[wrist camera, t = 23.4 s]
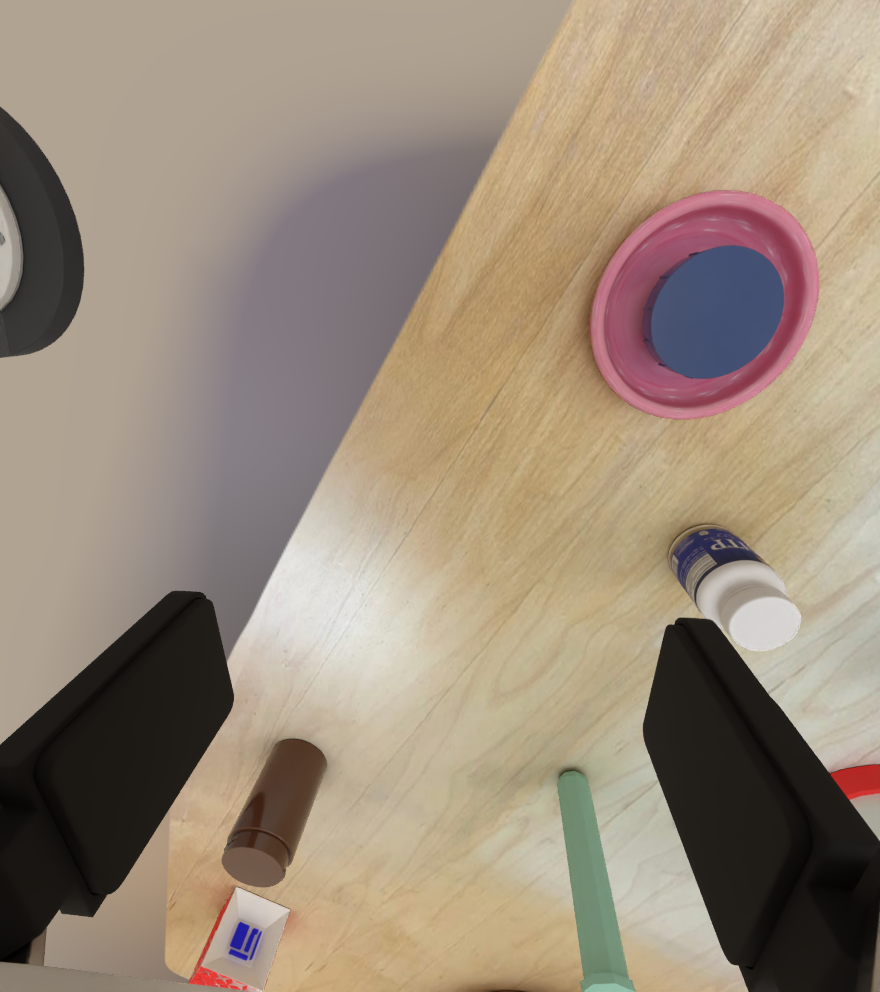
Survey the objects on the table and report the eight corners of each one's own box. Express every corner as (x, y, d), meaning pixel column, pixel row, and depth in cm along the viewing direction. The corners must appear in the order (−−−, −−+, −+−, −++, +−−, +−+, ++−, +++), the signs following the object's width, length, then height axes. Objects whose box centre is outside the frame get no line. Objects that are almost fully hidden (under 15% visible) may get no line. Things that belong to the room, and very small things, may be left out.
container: (555, 760, 45) (586, 978, 30) (594, 766, 45) (644, 988, 30) (550, 786, 46) (577, 1006, 32) (587, 791, 46) (632, 1016, 31)
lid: (772, 238, 25) (792, 233, 23) (760, 366, 27) (777, 369, 25) (641, 261, 26) (651, 258, 24) (641, 382, 28) (650, 386, 26)
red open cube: (219, 913, 63) (183, 992, 55) (236, 886, 60) (200, 966, 52) (271, 935, 63) (243, 1016, 56) (291, 909, 60) (263, 991, 53)
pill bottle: (752, 534, 34) (835, 604, 26) (716, 590, 36) (782, 670, 28) (686, 513, 34) (747, 576, 26) (654, 570, 36) (701, 645, 28)
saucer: (631, 175, 27) (648, 158, 24) (831, 235, 27) (872, 226, 24) (554, 381, 32) (561, 388, 29) (724, 432, 32) (748, 444, 29)
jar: (270, 771, 50) (218, 879, 41) (272, 733, 48) (218, 837, 38) (324, 784, 50) (284, 896, 41) (329, 746, 48) (288, 855, 38)
